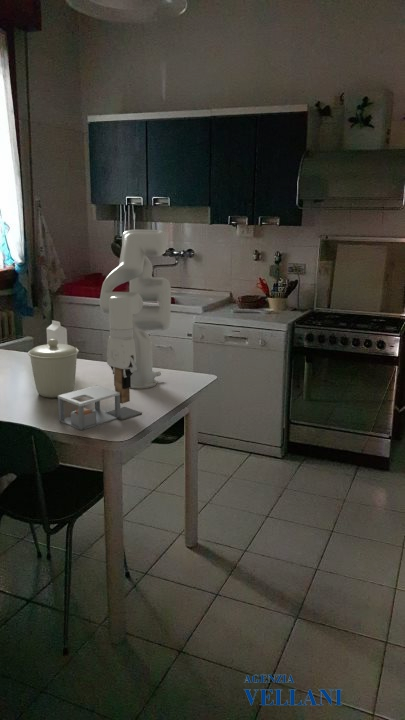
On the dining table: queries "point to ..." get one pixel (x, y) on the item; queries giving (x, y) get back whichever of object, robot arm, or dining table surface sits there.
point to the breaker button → (86, 411)
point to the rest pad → (125, 413)
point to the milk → (57, 332)
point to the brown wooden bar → (118, 386)
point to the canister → (54, 368)
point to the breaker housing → (96, 414)
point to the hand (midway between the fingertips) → (122, 386)
